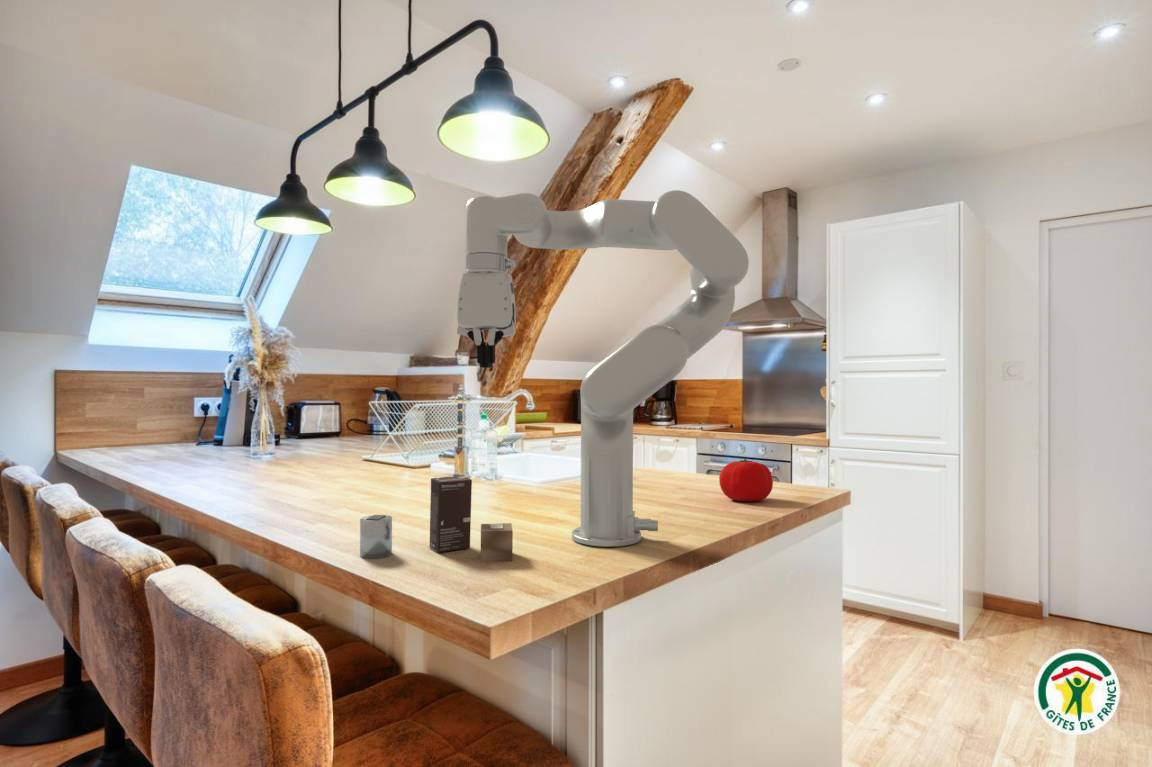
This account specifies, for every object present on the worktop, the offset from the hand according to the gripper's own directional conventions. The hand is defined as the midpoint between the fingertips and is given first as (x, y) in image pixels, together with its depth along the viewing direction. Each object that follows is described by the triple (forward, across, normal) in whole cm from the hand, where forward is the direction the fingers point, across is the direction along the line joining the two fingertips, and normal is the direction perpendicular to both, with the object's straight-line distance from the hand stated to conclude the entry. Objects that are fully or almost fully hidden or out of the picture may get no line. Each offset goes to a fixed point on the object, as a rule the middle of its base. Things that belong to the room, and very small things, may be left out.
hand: (486, 367), depth 112 cm
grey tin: (+31, +15, +13) cm, 37 cm away
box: (+31, +4, +8) cm, 33 cm away
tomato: (+31, -53, -43) cm, 75 cm away
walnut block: (+31, -5, +12) cm, 34 cm away
